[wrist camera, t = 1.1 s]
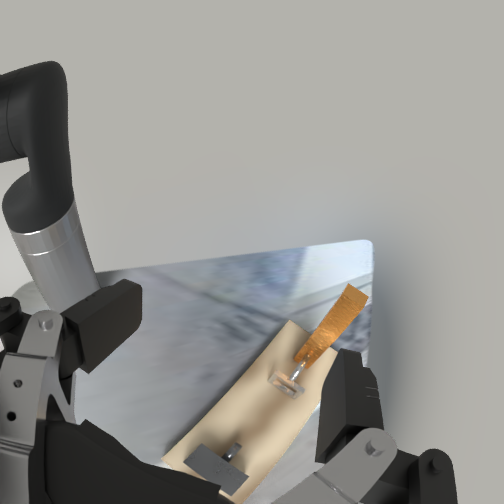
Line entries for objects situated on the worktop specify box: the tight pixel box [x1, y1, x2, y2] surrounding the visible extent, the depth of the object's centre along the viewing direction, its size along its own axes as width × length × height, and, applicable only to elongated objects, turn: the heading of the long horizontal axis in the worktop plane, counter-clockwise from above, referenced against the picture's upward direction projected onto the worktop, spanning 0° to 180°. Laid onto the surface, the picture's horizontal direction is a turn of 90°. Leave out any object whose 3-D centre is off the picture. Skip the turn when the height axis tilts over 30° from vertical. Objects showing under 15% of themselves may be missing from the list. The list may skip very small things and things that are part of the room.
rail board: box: [162, 320, 338, 504], centre depth 29 cm, size 10×26×2 cm, turn 144°
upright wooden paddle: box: [268, 283, 368, 400], centre depth 29 cm, size 4×10×15 cm, turn 144°
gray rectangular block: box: [183, 442, 249, 496], centre depth 22 cm, size 6×6×3 cm
